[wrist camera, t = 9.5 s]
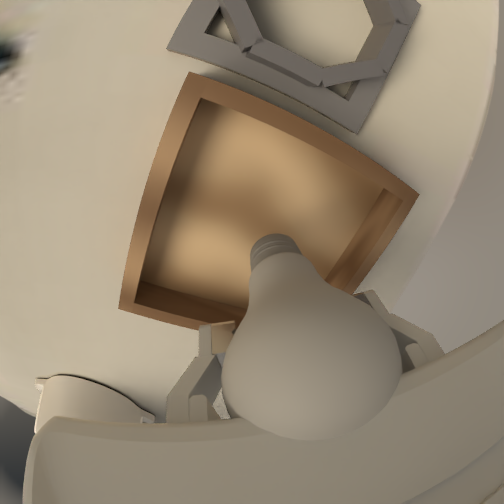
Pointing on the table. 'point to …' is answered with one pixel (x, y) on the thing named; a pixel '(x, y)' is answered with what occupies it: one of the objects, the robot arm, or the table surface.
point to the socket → (294, 66)
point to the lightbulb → (306, 351)
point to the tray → (250, 206)
